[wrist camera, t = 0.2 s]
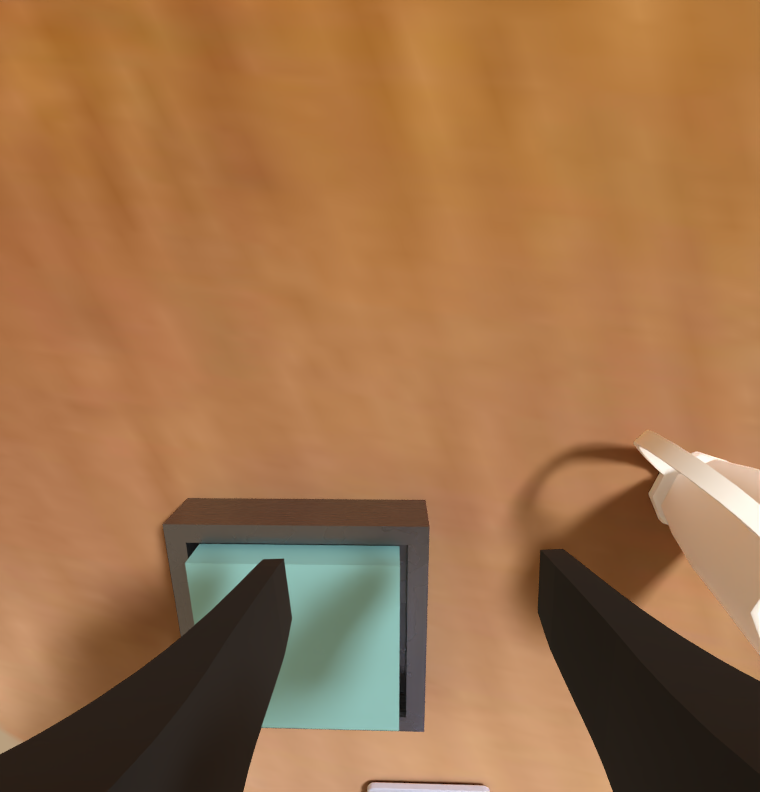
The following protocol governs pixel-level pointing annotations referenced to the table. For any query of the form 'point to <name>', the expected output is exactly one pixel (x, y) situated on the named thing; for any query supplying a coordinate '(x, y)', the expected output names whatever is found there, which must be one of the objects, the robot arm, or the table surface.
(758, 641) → the cup
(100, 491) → the table surface
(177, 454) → the table surface
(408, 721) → the plate housing
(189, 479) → the table surface
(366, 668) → the plate
